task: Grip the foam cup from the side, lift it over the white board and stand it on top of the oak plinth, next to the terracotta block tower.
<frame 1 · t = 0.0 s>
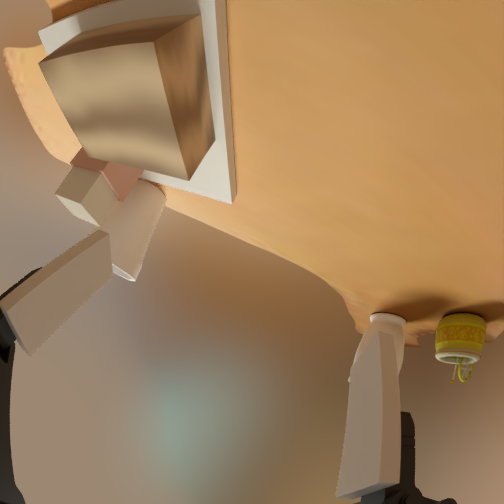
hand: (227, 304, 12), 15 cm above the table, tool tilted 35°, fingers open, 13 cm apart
oak plinth: (145, 80, 18), resting on white board
white board: (140, 103, 22), on the table
terracotta tower: (118, 151, 29), resting on white board
jar: (388, 317, 52), on the table
foam cup: (149, 191, 40), on the table
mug: (462, 319, 39), on the table
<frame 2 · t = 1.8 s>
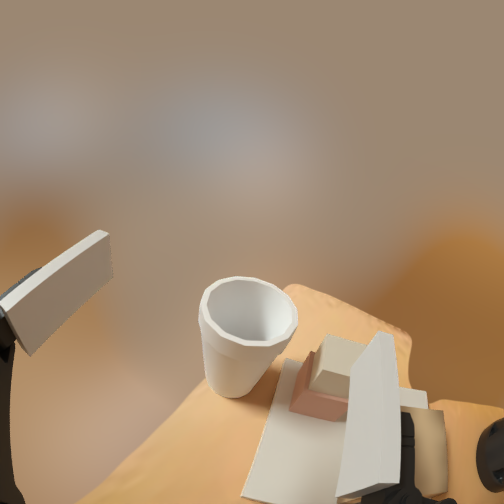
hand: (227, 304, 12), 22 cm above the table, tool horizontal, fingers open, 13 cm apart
oak plinth: (386, 463, 22), resting on white board
white board: (355, 444, 26), on the table
terracotta tower: (315, 397, 30), resting on white board
foam cup: (230, 378, 32), on the table
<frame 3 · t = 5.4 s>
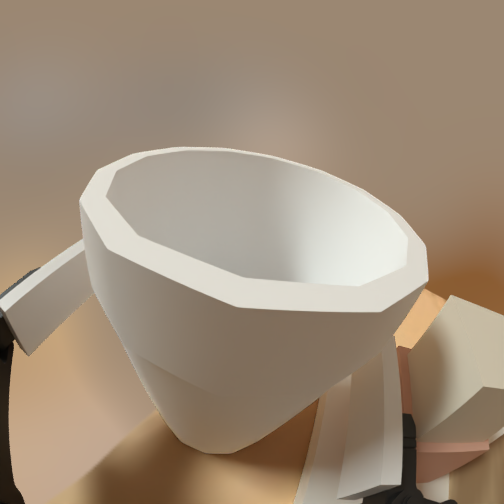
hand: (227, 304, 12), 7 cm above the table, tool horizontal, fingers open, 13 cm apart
terracotta tower: (393, 440, 11), resting on white board
foam cup: (215, 408, 14), on the table
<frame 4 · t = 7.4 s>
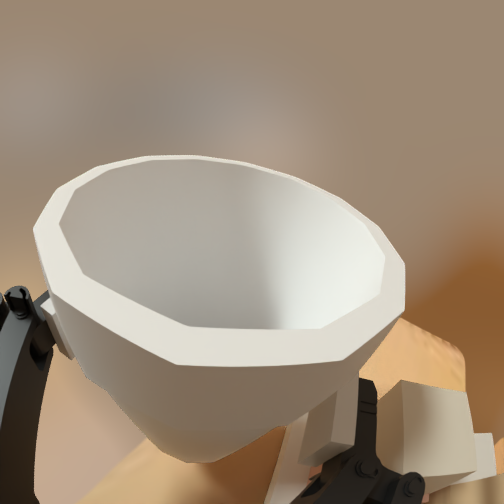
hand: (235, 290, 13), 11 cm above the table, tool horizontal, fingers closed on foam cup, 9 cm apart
terracotta tower: (348, 479, 12), resting on white board
foam cup: (195, 417, 14), point 3 cm above the table, touching gripper
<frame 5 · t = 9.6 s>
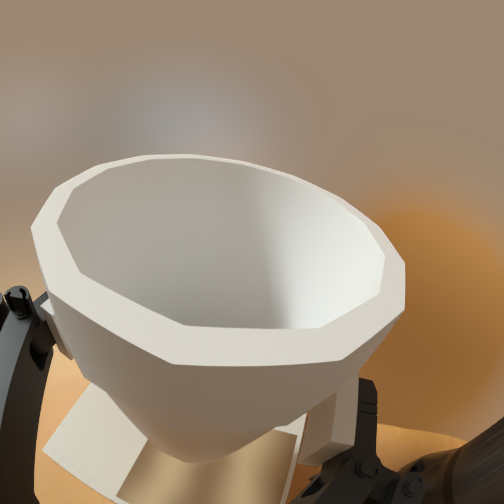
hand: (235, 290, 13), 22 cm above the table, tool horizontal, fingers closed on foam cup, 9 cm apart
oak plinth: (208, 479, 19), resting on white board
white board: (181, 445, 22), on the table
foam cup: (194, 417, 14), point 14 cm above the table, touching gripper
when the fingers open (15 cm above the table, at t = 11.7 s): foam cup drops 1 cm, resting on oak plinth.
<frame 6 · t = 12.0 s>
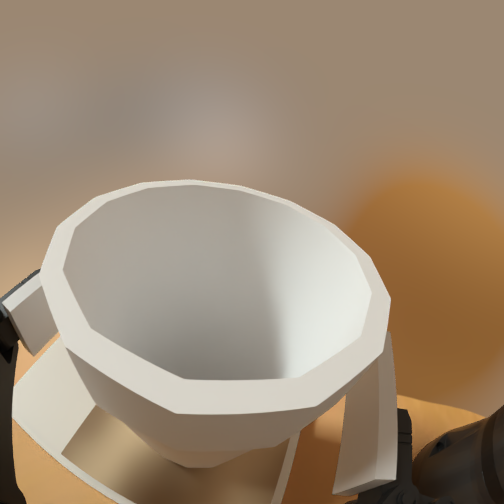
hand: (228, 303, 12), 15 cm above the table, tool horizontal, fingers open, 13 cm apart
oak plinth: (187, 451, 16), resting on white board
white board: (159, 408, 20), on the table
foam cup: (194, 424, 14), point 6 cm above the table, touching oak plinth
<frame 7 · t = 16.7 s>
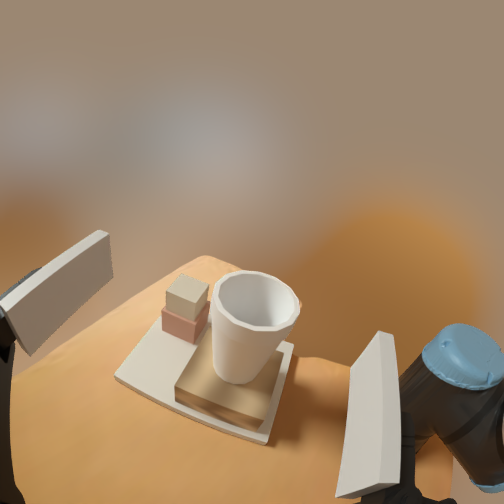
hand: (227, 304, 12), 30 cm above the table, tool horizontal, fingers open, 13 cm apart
oak plinth: (228, 386, 37), resting on white board
white board: (210, 367, 41), on the table
terracotta tower: (185, 326, 45), resting on white board
foam cup: (235, 366, 35), point 6 cm above the table, touching oak plinth
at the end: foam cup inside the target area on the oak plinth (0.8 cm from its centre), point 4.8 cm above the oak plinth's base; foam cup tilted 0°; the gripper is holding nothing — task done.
